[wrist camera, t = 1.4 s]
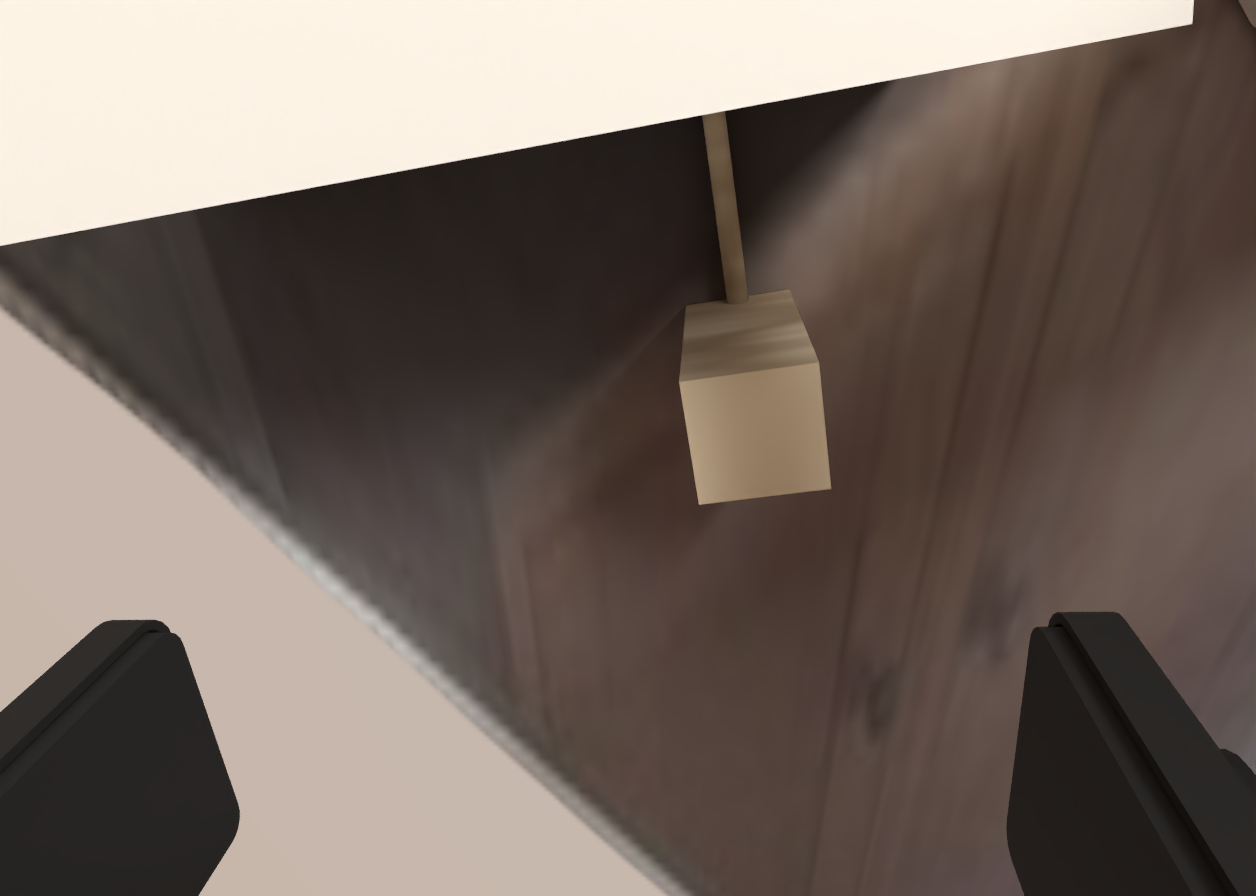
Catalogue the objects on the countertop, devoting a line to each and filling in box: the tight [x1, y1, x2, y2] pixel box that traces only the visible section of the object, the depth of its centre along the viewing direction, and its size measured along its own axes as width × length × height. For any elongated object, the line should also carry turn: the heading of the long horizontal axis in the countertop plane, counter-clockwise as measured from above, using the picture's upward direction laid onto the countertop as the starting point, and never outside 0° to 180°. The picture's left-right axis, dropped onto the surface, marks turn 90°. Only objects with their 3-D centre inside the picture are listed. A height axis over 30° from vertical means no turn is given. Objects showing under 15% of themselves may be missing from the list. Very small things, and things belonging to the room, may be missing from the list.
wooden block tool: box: [679, 111, 831, 505], centre depth 19 cm, size 5×19×7 cm, turn 10°
